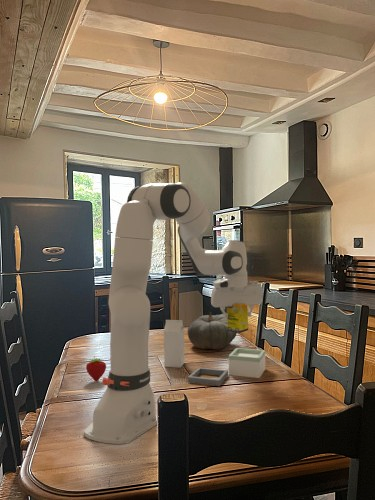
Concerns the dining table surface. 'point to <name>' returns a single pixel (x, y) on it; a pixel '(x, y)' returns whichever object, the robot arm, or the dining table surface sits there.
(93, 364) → the strawberry
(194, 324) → the gourd
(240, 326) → the supplement box
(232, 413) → the dining table surface
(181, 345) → the milk carton
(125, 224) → the robot arm
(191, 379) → the white box and frame
